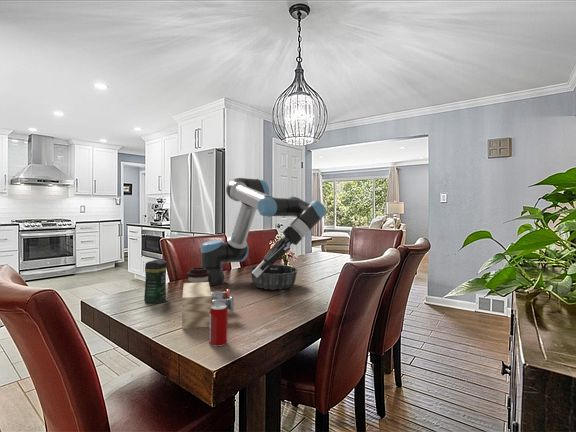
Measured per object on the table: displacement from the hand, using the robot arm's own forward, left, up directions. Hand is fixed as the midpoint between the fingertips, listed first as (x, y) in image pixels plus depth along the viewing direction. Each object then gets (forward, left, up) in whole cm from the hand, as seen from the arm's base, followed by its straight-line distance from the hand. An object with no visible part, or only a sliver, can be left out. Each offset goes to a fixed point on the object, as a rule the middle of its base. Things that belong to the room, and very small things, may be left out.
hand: (254, 275), depth 123 cm
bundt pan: (-41, -30, -17) cm, 54 cm away
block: (+16, -16, -17) cm, 28 cm away
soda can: (+23, +10, -17) cm, 30 cm away
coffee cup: (+4, -33, -17) cm, 38 cm away
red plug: (+7, -17, -14) cm, 23 cm away
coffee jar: (+17, -47, -17) cm, 53 cm away
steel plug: (+12, -7, -14) cm, 20 cm away
